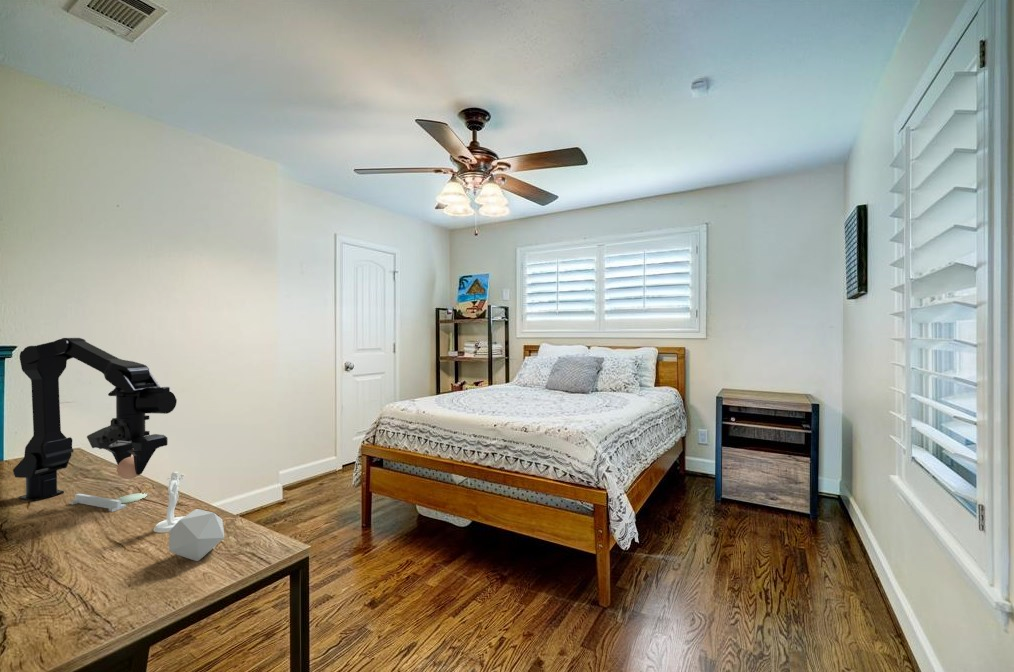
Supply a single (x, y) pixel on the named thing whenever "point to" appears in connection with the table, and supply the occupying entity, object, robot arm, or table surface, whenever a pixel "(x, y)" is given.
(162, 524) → the figurine
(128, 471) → the ball
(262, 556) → the table surface
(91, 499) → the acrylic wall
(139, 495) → the felt coaster
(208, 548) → the die
